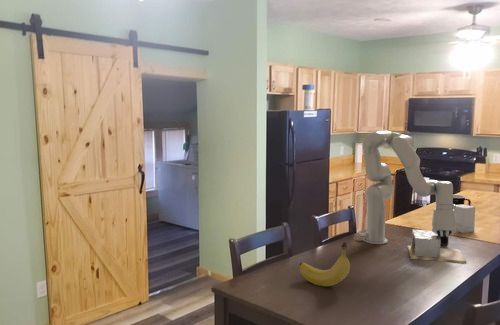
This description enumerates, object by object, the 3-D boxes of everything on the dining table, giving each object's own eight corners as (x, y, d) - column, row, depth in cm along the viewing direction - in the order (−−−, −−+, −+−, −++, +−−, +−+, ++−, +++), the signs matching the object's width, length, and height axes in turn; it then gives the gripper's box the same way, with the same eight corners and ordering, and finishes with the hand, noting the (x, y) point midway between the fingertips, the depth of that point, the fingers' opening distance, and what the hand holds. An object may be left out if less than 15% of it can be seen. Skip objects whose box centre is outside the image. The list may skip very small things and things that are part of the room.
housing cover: (414, 255, 199) (415, 238, 198) (411, 246, 214) (412, 229, 213) (439, 257, 196) (440, 239, 195) (434, 247, 211) (435, 230, 210)
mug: (436, 211, 298) (437, 194, 296) (454, 209, 302) (455, 193, 301) (454, 216, 282) (454, 199, 281) (472, 214, 287) (473, 197, 286)
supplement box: (474, 231, 244) (476, 206, 243) (463, 233, 241) (464, 208, 239) (461, 228, 253) (463, 203, 251) (450, 229, 249) (452, 205, 248)
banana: (295, 280, 173) (295, 233, 171) (303, 276, 178) (303, 230, 175) (345, 295, 159) (346, 244, 156) (352, 290, 163) (353, 240, 161)
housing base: (410, 258, 199) (411, 253, 199) (407, 247, 216) (407, 242, 216) (466, 263, 192) (466, 257, 192) (458, 251, 209) (458, 246, 209)
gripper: (459, 205, 202) (459, 242, 204) (426, 205, 206) (426, 241, 208) (462, 208, 195) (462, 247, 197) (428, 208, 199) (428, 245, 201)
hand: (443, 244), depth 202 cm, fingers closed
